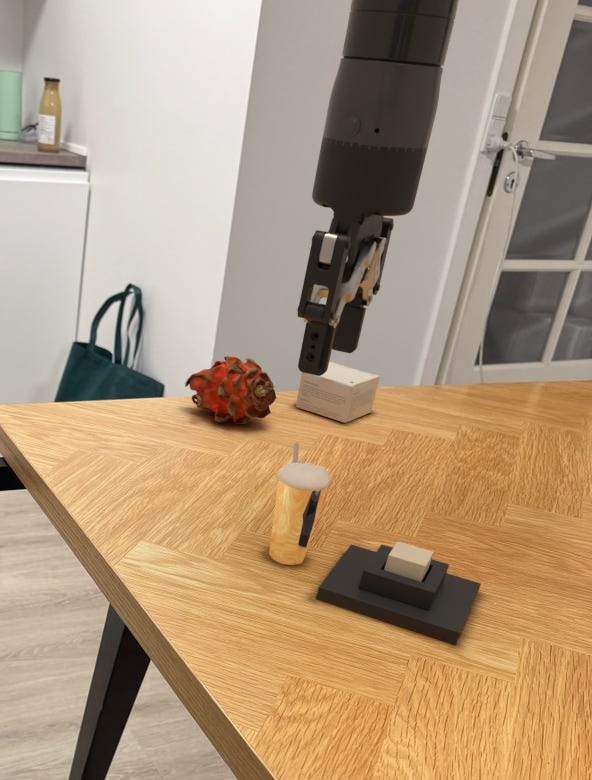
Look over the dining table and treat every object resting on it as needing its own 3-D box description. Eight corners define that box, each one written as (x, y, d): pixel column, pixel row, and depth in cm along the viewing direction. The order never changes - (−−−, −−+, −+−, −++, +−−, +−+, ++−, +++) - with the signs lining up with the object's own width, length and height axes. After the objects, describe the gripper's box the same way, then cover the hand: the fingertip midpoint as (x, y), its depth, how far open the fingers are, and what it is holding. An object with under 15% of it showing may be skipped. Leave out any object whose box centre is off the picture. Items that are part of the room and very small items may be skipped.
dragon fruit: (272, 446, 111) (184, 436, 116) (292, 392, 114) (205, 385, 119) (260, 401, 104) (167, 392, 109) (282, 345, 107) (190, 339, 112)
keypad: (477, 594, 80) (487, 565, 78) (455, 645, 73) (467, 614, 71) (348, 555, 84) (355, 526, 83) (315, 598, 77) (323, 568, 75)
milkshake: (298, 541, 86) (320, 443, 80) (318, 568, 82) (342, 466, 76) (253, 541, 85) (272, 442, 79) (271, 569, 81) (292, 466, 75)
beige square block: (428, 569, 78) (434, 551, 77) (420, 584, 75) (426, 565, 74) (392, 558, 79) (397, 540, 78) (383, 572, 76) (388, 554, 75)
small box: (372, 412, 121) (382, 375, 118) (344, 424, 116) (353, 385, 113) (323, 396, 125) (331, 360, 122) (293, 407, 120) (301, 369, 117)
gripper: (404, 146, 58) (347, 393, 67) (447, 139, 68) (393, 352, 77) (294, 133, 60) (254, 371, 69) (352, 128, 71) (311, 335, 80)
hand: (327, 361), depth 73 cm, fingers open, 8 cm apart
